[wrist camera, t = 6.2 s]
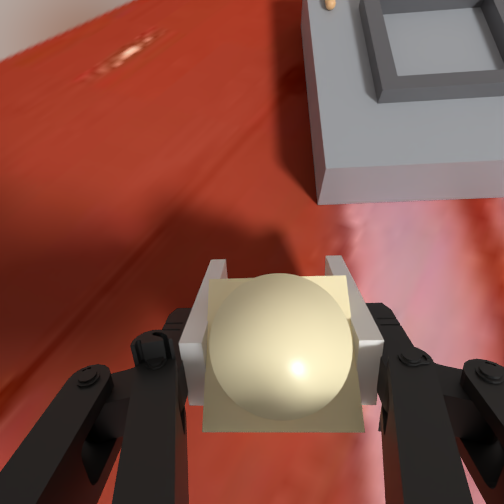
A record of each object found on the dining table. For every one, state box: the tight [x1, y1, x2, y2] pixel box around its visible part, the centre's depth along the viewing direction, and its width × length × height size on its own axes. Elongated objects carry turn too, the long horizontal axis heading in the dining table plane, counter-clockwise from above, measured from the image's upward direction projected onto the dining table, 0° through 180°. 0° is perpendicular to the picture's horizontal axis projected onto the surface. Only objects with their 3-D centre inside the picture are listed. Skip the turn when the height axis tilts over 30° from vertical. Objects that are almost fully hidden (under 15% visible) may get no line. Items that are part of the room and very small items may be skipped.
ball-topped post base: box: [301, 0, 504, 205], centre depth 23 cm, size 16×18×5 cm
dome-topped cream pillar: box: [202, 273, 365, 432], centre depth 14 cm, size 5×5×10 cm
